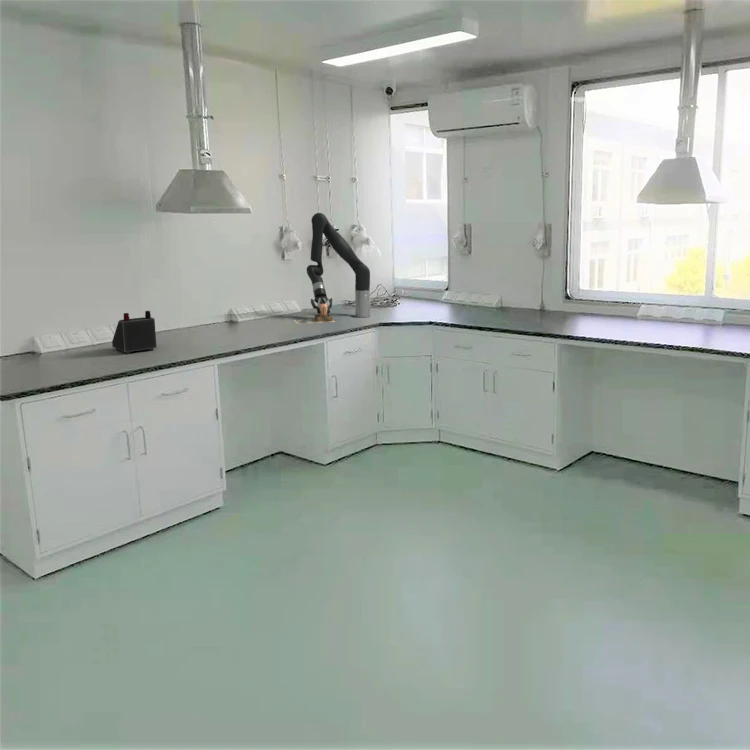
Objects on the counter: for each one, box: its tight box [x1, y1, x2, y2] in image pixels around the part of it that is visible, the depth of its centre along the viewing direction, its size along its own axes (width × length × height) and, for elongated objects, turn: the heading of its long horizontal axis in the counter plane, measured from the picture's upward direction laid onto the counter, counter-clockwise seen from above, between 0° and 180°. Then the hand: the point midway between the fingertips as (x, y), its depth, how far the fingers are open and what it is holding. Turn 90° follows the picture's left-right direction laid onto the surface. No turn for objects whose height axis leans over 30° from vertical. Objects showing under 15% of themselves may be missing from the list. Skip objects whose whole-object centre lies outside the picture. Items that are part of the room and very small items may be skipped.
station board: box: [292, 313, 336, 325], centre depth 427 cm, size 24×14×4 cm, turn 108°
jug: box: [318, 303, 328, 317], centre depth 426 cm, size 5×8×10 cm
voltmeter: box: [111, 310, 158, 355], centre depth 345 cm, size 16×16×20 cm
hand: (324, 313), depth 426 cm, fingers closed on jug, 5 cm apart
